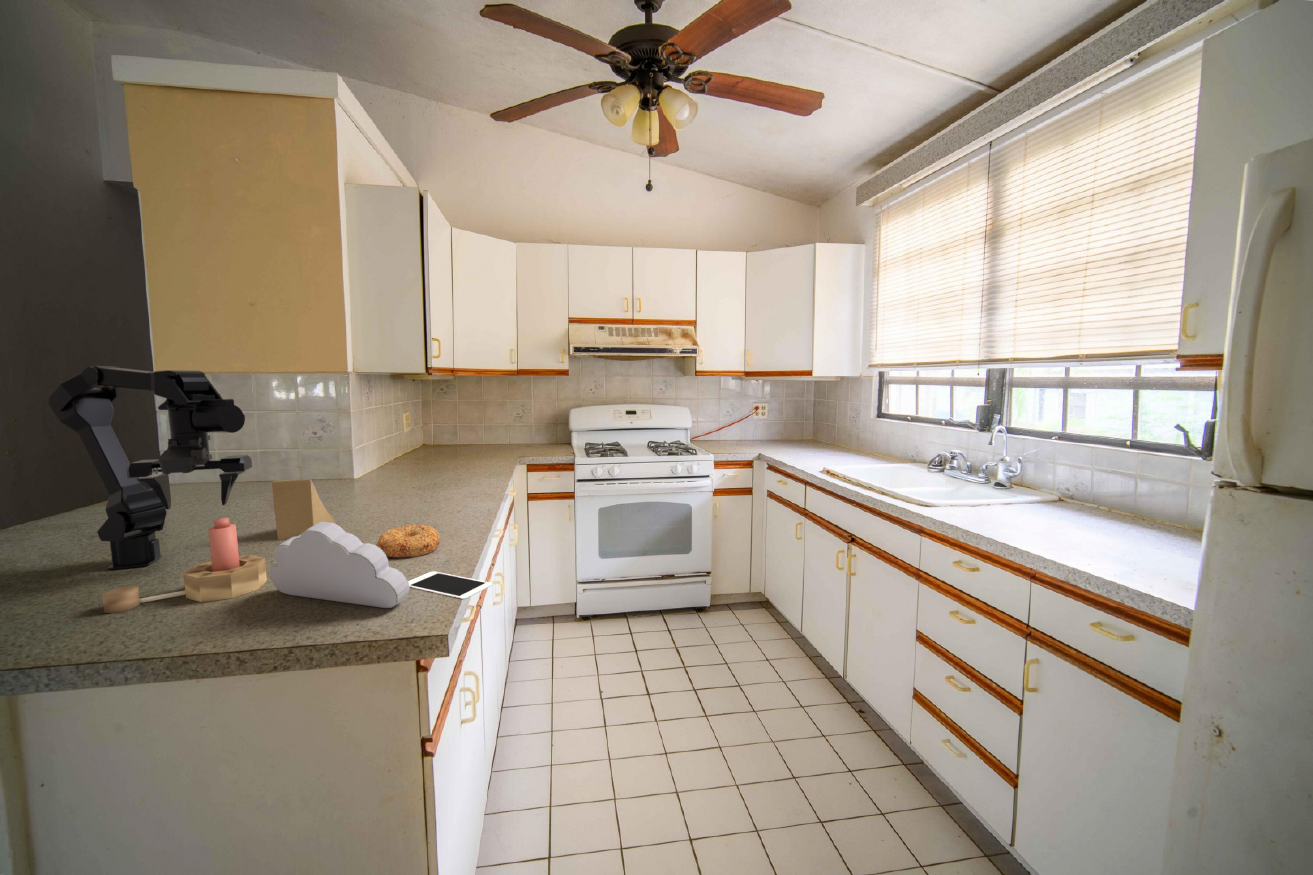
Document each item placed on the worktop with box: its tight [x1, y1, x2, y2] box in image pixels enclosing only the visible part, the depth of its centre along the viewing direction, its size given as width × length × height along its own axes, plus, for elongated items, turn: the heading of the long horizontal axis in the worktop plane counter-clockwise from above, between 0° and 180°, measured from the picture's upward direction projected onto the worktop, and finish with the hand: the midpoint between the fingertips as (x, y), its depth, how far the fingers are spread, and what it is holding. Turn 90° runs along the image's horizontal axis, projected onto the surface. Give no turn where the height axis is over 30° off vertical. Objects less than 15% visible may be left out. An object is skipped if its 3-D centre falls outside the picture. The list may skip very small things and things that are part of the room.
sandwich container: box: [271, 478, 336, 541], centre depth 137 cm, size 9×15×15 cm, turn 14°
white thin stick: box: [139, 589, 186, 604], centre depth 95 cm, size 12×1×1 cm, turn 128°
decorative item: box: [268, 521, 410, 609], centre depth 94 cm, size 28×10×15 cm, turn 75°
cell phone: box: [408, 570, 494, 601], centre depth 102 cm, size 8×16×1 cm, turn 66°
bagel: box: [375, 524, 441, 559], centre depth 122 cm, size 13×14×5 cm
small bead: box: [101, 585, 141, 614], centre depth 91 cm, size 4×4×3 cm
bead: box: [183, 554, 268, 603], centre depth 99 cm, size 11×11×4 cm
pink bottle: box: [207, 517, 240, 572], centre depth 99 cm, size 4×4×14 cm
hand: (196, 506), depth 109 cm, fingers open, 9 cm apart
